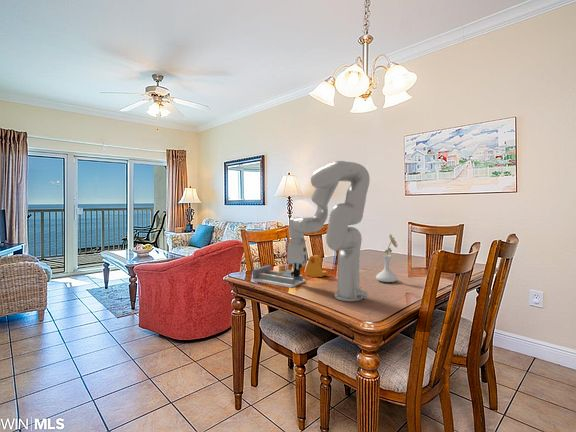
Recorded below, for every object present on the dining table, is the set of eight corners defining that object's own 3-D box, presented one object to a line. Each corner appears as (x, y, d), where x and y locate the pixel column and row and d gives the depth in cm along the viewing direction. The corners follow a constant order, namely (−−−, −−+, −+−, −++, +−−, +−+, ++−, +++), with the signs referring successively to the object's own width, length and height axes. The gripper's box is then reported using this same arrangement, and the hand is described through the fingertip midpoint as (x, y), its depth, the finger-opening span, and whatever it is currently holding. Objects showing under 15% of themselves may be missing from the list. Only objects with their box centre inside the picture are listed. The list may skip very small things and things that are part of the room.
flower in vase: (390, 285, 159) (390, 236, 158) (371, 280, 168) (371, 234, 167) (403, 280, 167) (404, 234, 166) (385, 276, 176) (385, 232, 175)
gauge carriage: (299, 278, 168) (299, 265, 168) (287, 283, 159) (287, 269, 159) (287, 276, 173) (287, 263, 172) (275, 281, 164) (275, 267, 163)
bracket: (327, 275, 180) (327, 255, 180) (320, 278, 175) (320, 257, 174) (312, 273, 187) (312, 253, 187) (305, 275, 182) (305, 255, 181)
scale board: (305, 281, 168) (305, 270, 167) (290, 287, 156) (290, 275, 156) (268, 275, 182) (268, 265, 182) (252, 280, 170) (252, 269, 170)
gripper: (312, 241, 160) (312, 276, 161) (288, 239, 169) (289, 273, 170) (305, 243, 154) (305, 279, 155) (280, 241, 162) (280, 275, 163)
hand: (296, 276), depth 162 cm, fingers closed
